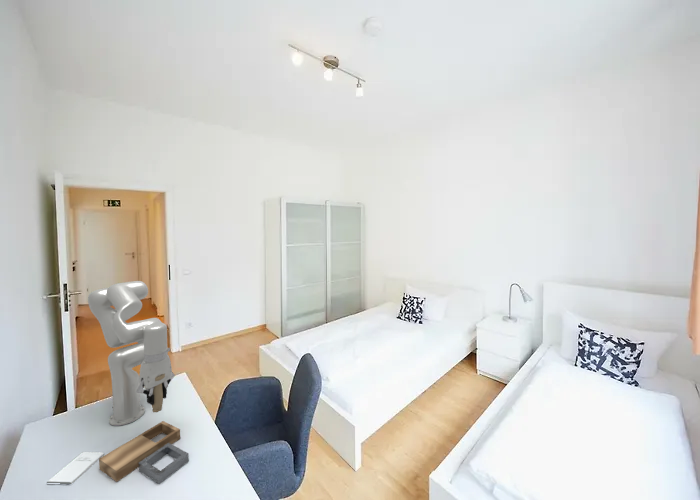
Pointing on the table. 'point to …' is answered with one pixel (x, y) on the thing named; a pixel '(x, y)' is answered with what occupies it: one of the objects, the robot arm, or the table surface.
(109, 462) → the wooden box
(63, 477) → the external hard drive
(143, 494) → the table surface
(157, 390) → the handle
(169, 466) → the collar
